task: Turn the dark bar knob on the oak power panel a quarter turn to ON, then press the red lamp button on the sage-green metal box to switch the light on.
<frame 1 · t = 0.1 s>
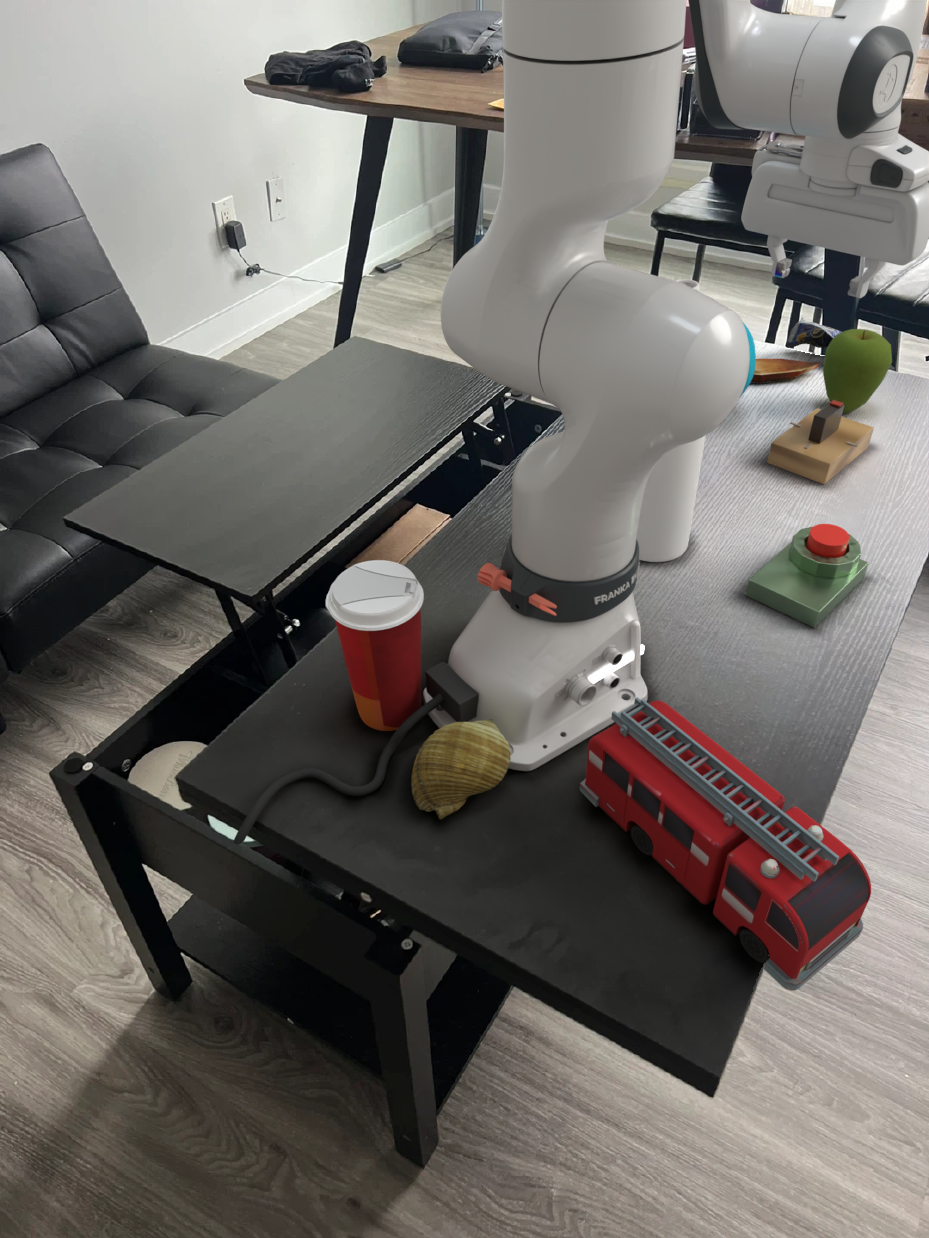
hand: (817, 285, 104), 22 cm above the table, tool pointing down, fingers open, 8 cm apart
lamp button: (827, 541, 97), point 4 cm above the table, slide at 0.1 cm
wooden boat shaped bowl: (773, 360, 134), point 3 cm above the table
coffee cup: (389, 709, 86), on the table
seashell: (461, 783, 79), on the table, touching arm
snack package: (866, 353, 133), point 3 cm above the table
apple: (843, 410, 128), on the table
bottle: (652, 543, 105), on the table
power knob: (826, 421, 115), point 5 cm above the table, hinge at 0.0°
decorative orb: (690, 413, 128), on the table
lamp box: (804, 587, 98), on the table
power panel: (817, 455, 118), on the table
toy: (707, 864, 72), on the table
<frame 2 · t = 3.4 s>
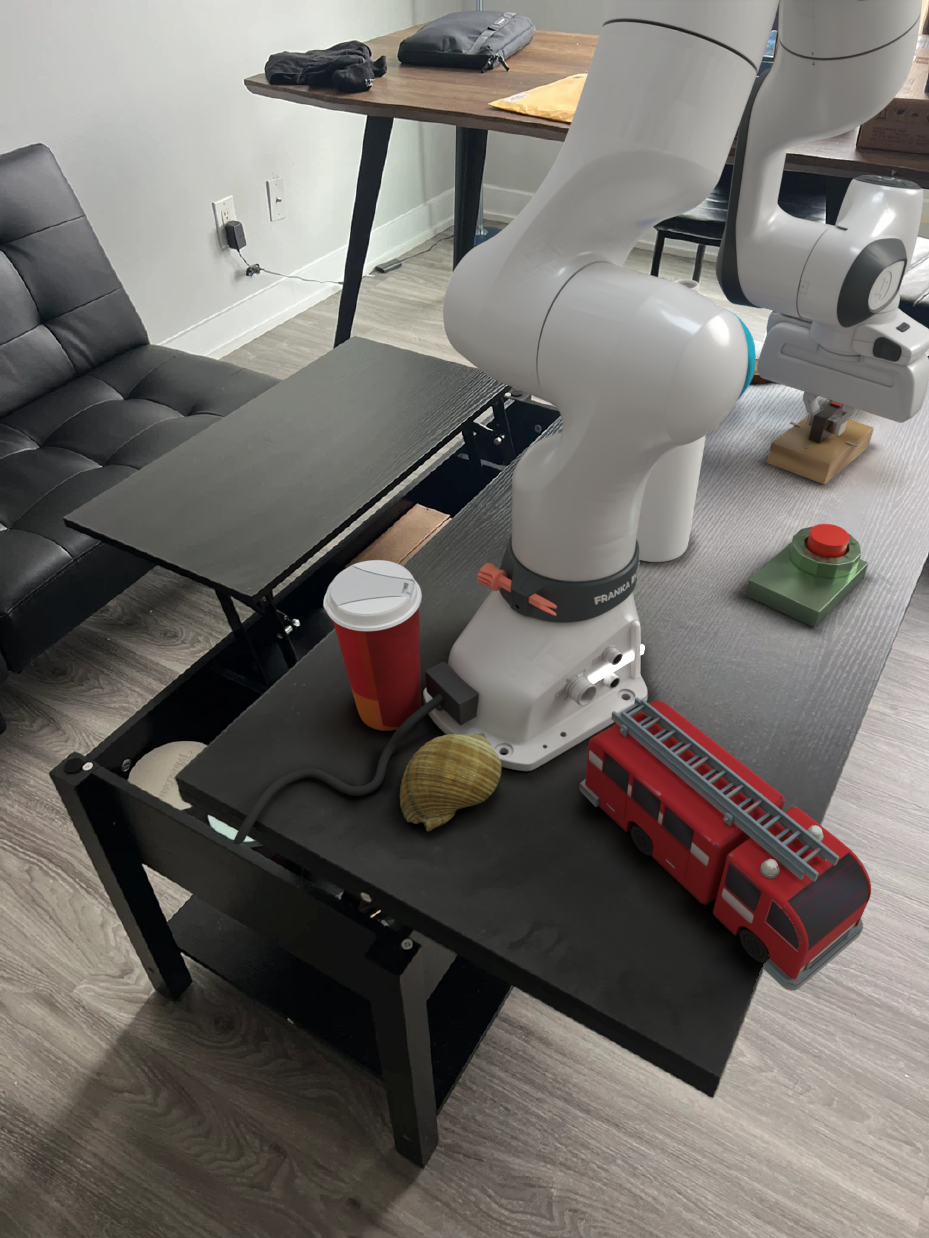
hand: (824, 428, 116), 4 cm above the table, tool pointing down, fingers closed on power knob, 2 cm apart
seashell: (450, 798, 78), on the table
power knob: (826, 421, 115), point 5 cm above the table, hinge at 0.0°, touching gripper
everything else where it was.
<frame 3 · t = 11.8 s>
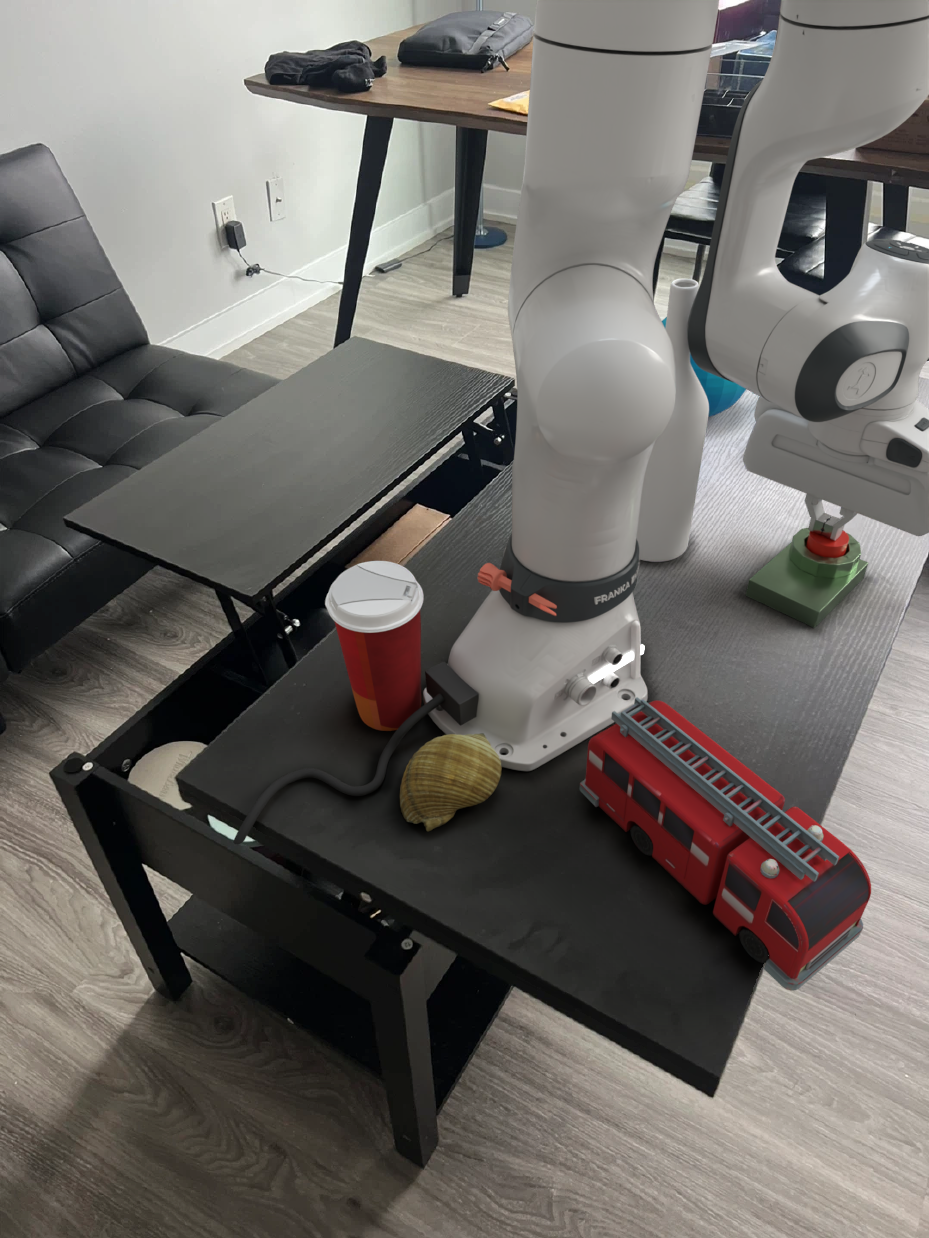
hand: (824, 533, 96), 5 cm above the table, tool pointing down, fingers closed
lamp button: (827, 542, 97), point 4 cm above the table, slide at 0.0 cm, touching gripper
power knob: (826, 421, 115), point 5 cm above the table, hinge at 89.9°
everything else where it was.
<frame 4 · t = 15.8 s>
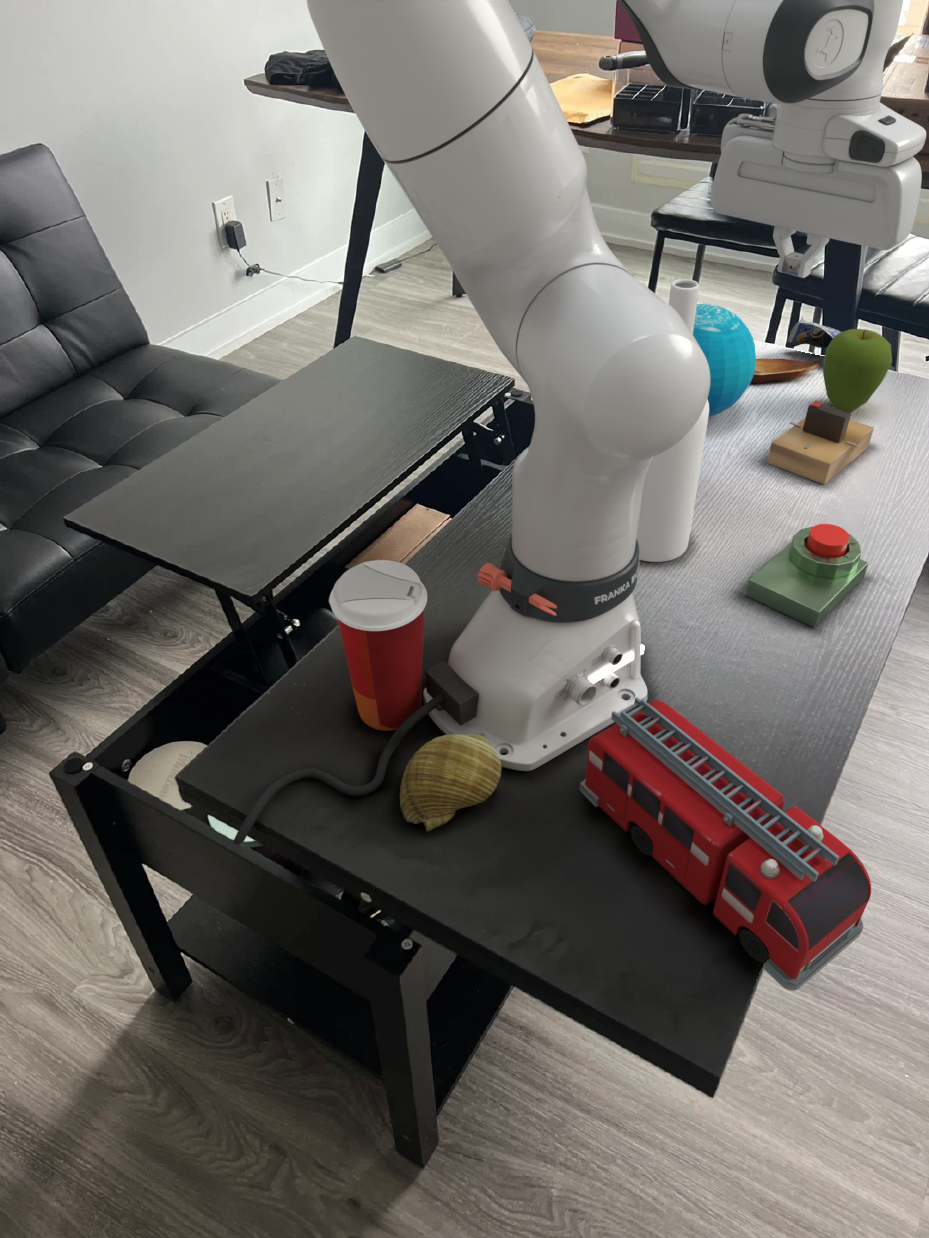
hand: (793, 273, 94), 27 cm above the table, tool pointing down, fingers closed
lamp button: (827, 541, 97), point 4 cm above the table, slide at 0.1 cm
everything else where it was.
at the end: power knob at +90° (first picture: +0°); lamp button pushed in 1.1 cm at the most during the clip, back to where it started at the end; lamp button slide at 0.1 cm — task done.
